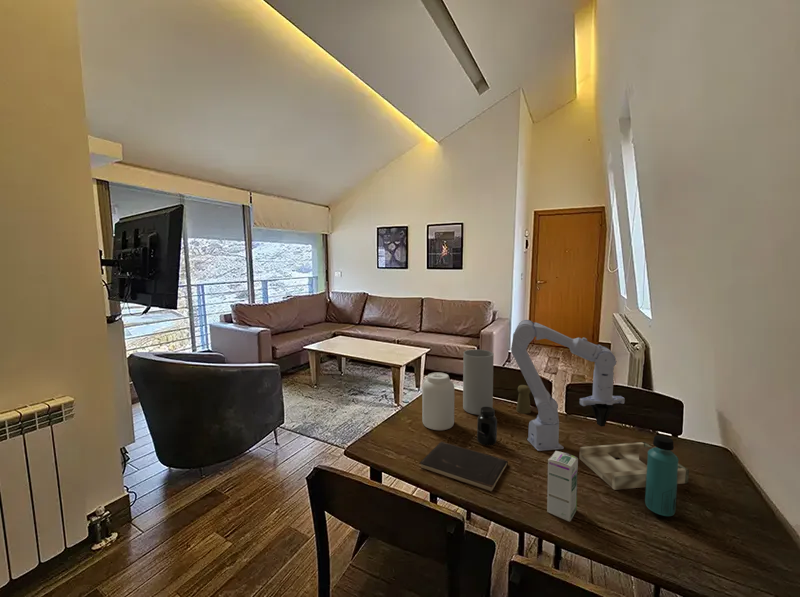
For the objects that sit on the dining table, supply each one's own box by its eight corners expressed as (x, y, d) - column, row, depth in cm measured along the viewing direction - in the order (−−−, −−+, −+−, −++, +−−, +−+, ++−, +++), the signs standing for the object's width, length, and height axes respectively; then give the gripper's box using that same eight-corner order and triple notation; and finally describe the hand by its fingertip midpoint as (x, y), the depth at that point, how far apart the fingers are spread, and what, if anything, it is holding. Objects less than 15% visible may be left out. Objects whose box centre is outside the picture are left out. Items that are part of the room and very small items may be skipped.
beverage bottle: (677, 526, 86) (683, 447, 84) (643, 516, 90) (648, 440, 88) (673, 510, 92) (679, 436, 90) (642, 501, 95) (647, 429, 93)
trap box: (614, 489, 100) (615, 476, 100) (579, 458, 116) (579, 447, 116) (687, 482, 103) (689, 469, 102) (643, 453, 119) (644, 442, 118)
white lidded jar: (416, 424, 141) (415, 375, 139) (434, 414, 151) (434, 368, 148) (442, 434, 133) (442, 382, 131) (460, 422, 142) (460, 374, 140)
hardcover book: (491, 494, 100) (492, 486, 99) (419, 469, 112) (419, 462, 112) (507, 466, 113) (507, 459, 113) (441, 446, 125) (441, 440, 125)
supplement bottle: (475, 444, 126) (475, 411, 125) (478, 435, 132) (479, 404, 131) (495, 447, 123) (496, 414, 122) (497, 438, 130) (498, 406, 128)
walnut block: (649, 467, 108) (650, 454, 107) (638, 459, 112) (639, 447, 111) (667, 465, 109) (668, 453, 108) (656, 458, 113) (657, 446, 112)
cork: (528, 408, 156) (529, 383, 155) (532, 413, 150) (533, 388, 149) (514, 407, 157) (515, 383, 156) (517, 413, 151) (518, 388, 150)
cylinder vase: (486, 418, 146) (487, 358, 144) (458, 411, 153) (458, 354, 151) (496, 407, 157) (497, 351, 154) (469, 401, 164) (470, 348, 161)
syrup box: (570, 522, 88) (572, 467, 86) (545, 512, 92) (547, 458, 90) (576, 510, 92) (579, 457, 91) (553, 500, 96) (555, 449, 94)
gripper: (590, 390, 112) (588, 432, 113) (632, 388, 113) (630, 429, 115) (576, 383, 119) (574, 422, 120) (616, 380, 120) (614, 419, 122)
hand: (600, 425), depth 118 cm, fingers closed
